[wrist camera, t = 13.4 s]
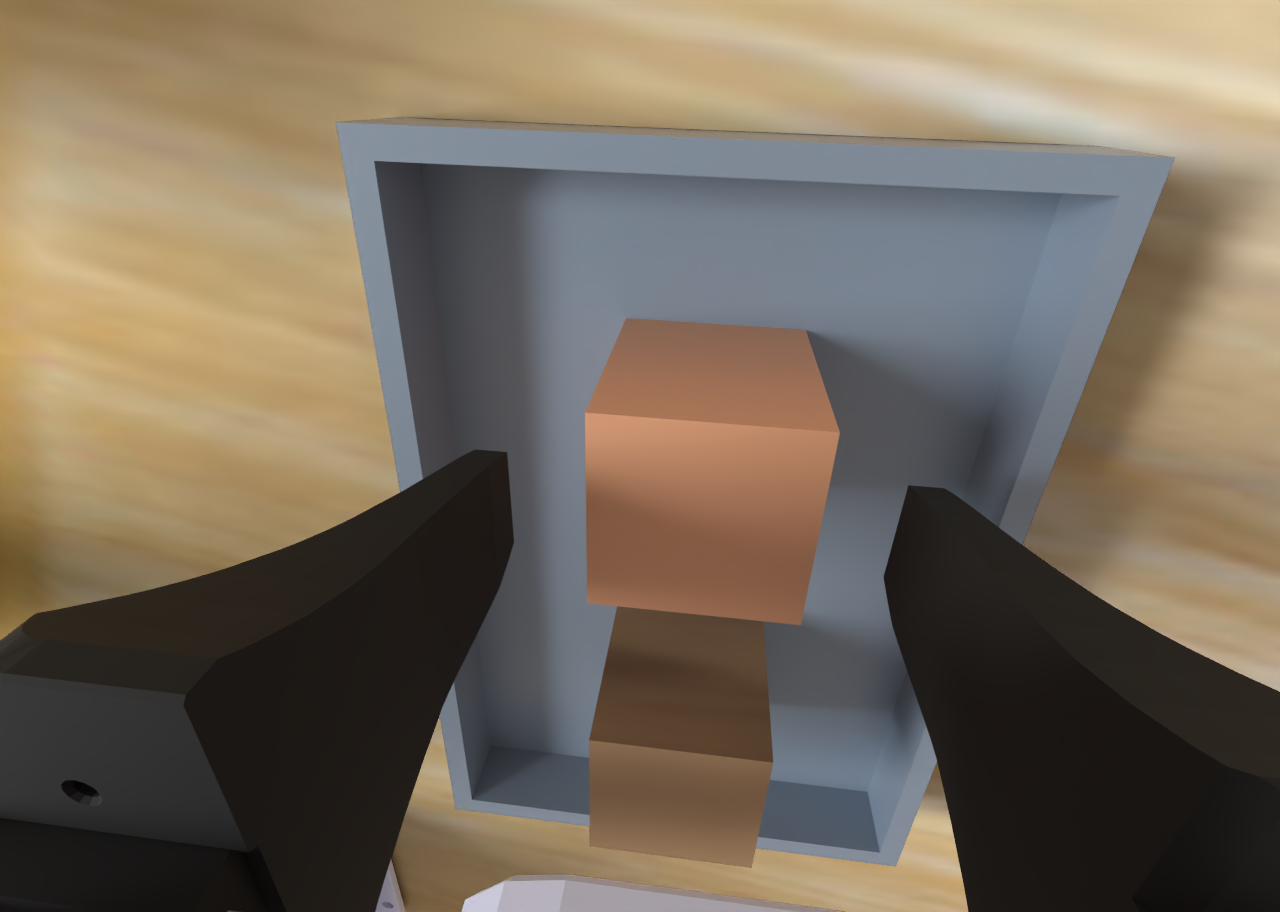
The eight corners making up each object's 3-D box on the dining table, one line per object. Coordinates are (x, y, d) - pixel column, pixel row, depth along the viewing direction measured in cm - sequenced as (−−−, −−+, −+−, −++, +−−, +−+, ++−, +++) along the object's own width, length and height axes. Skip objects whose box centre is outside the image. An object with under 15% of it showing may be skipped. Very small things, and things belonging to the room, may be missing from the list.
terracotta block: (780, 483, 16) (800, 624, 12) (622, 470, 17) (587, 603, 12) (805, 330, 14) (839, 432, 10) (626, 317, 15) (584, 412, 10)
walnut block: (746, 702, 20) (751, 868, 16) (618, 687, 21) (589, 846, 16) (762, 603, 18) (773, 762, 14) (620, 589, 19) (588, 740, 14)
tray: (879, 791, 22) (895, 866, 20) (480, 742, 24) (455, 808, 21) (1097, 146, 13) (1174, 157, 10) (396, 117, 14) (335, 122, 12)
